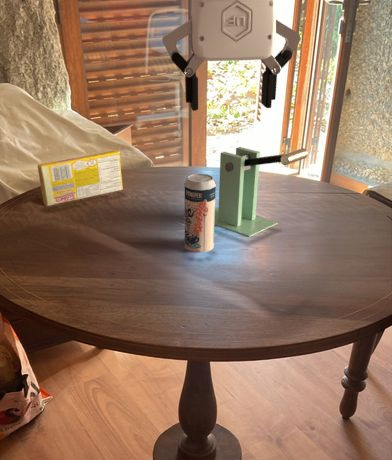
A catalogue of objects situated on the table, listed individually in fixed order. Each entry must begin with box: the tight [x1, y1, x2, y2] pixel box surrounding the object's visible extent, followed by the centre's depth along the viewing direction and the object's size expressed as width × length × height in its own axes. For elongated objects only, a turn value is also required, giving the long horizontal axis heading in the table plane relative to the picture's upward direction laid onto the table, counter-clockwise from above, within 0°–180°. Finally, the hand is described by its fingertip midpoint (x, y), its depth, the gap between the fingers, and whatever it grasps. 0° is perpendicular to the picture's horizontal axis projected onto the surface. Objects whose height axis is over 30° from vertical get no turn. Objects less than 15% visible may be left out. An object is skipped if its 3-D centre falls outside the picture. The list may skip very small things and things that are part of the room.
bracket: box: [214, 146, 279, 238], centre depth 97 cm, size 12×8×13 cm, turn 47°
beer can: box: [183, 173, 217, 253], centre depth 88 cm, size 5×5×12 cm
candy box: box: [36, 149, 124, 211], centre depth 108 cm, size 16×2×8 cm, turn 126°
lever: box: [239, 147, 309, 171], centre depth 91 cm, size 13×5×2 cm, turn 47°
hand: (230, 107), depth 75 cm, fingers open, 9 cm apart
